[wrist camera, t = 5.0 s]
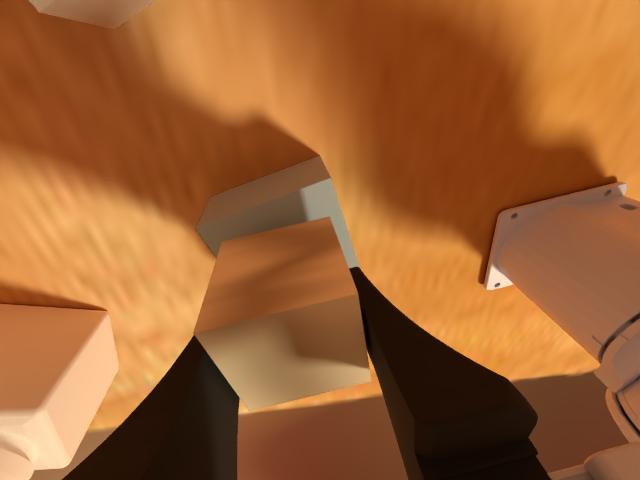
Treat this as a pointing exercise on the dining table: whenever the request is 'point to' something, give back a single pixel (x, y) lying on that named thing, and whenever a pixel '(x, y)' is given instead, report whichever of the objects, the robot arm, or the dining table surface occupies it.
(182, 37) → the dining table surface
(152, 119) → the dining table surface
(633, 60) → the dining table surface
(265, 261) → the maple cube
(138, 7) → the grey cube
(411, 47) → the dining table surface
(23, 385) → the medicine bottle
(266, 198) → the slate block
